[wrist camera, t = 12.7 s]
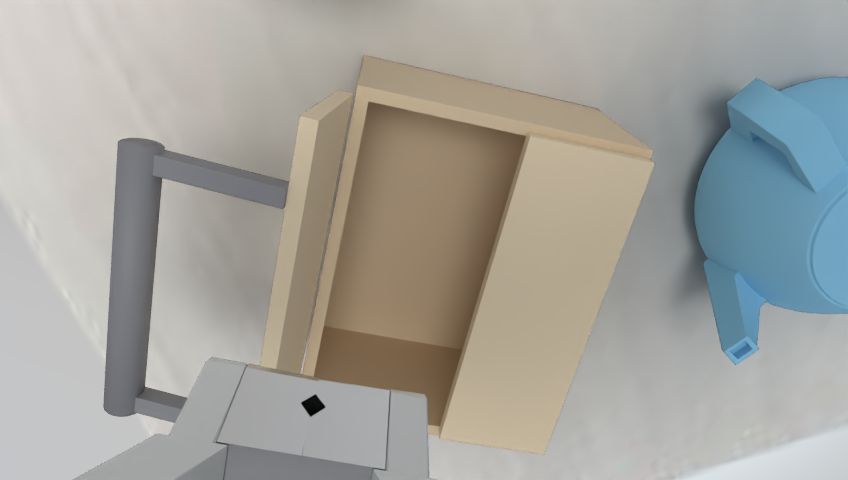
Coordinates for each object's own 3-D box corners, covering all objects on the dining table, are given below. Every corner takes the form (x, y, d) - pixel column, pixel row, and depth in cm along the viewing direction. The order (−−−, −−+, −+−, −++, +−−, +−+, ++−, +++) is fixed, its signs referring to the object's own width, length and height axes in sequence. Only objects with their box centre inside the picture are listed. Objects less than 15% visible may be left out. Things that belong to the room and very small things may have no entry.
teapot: (945, 53, 39) (1134, 88, 29) (884, 280, 45) (1024, 373, 35) (690, 66, 39) (795, 105, 29) (663, 294, 45) (742, 391, 35)
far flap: (313, 124, 23) (112, 73, 23) (250, 499, 29) (93, 457, 29) (353, 93, 29) (194, 53, 29) (293, 408, 36) (164, 374, 36)
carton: (597, 108, 39) (660, 155, 30) (512, 361, 46) (543, 460, 37) (363, 55, 37) (357, 88, 28) (311, 327, 44) (292, 423, 35)
